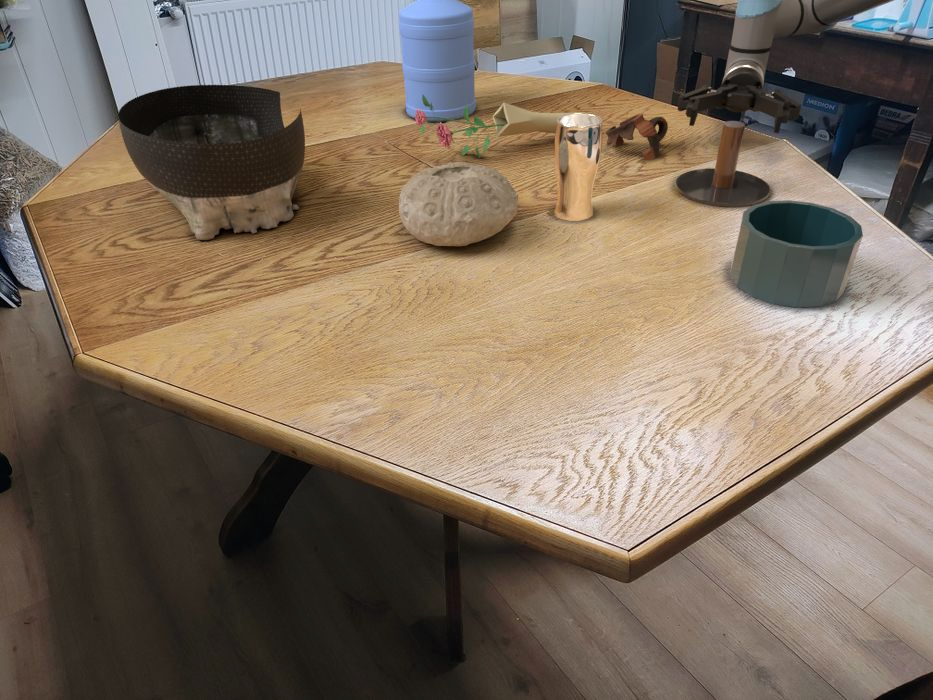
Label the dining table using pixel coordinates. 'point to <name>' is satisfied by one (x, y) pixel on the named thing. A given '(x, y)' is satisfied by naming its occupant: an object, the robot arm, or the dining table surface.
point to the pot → (795, 253)
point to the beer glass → (576, 163)
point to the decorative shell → (457, 204)
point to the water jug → (438, 58)
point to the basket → (217, 154)
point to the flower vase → (505, 121)
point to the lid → (724, 176)
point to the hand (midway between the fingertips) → (734, 121)
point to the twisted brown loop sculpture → (645, 130)
